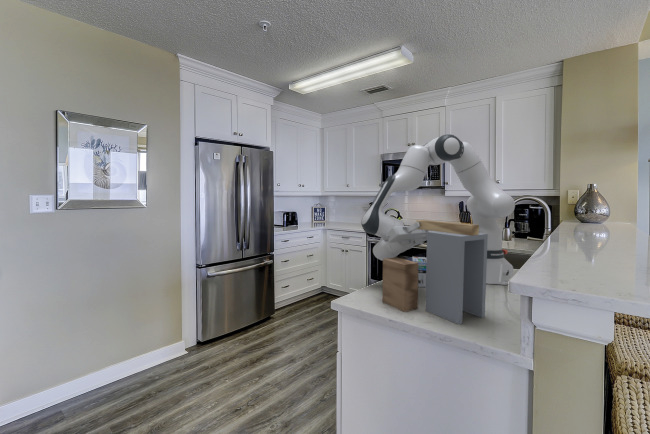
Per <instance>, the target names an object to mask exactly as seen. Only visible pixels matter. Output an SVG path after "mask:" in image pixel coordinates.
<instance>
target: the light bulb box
mask: <svg viewBox="0 0 650 434" xmlns="http://www.w3.org/2000/svg"><path fill="white" fill-rule="evenodd" d="M426 258H427V256H426V257H425V256H412V258H411V261H413V262H417V263H418V288H419V287H420V288H426Z"/></svg>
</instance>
